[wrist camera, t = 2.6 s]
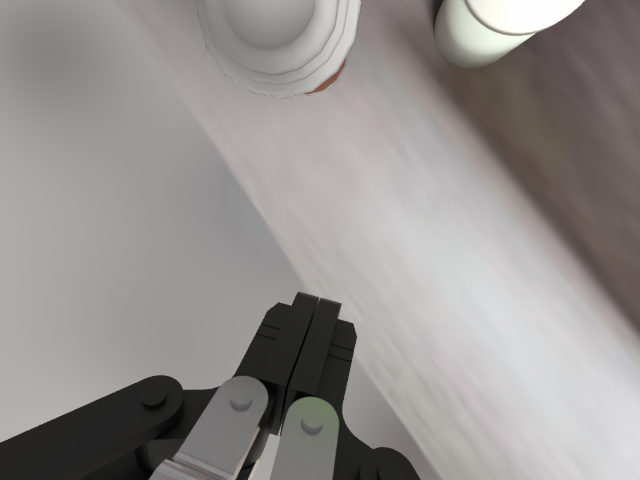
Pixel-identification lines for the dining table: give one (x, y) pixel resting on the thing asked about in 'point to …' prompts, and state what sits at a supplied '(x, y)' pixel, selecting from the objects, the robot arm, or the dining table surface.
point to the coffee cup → (280, 42)
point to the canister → (492, 27)
